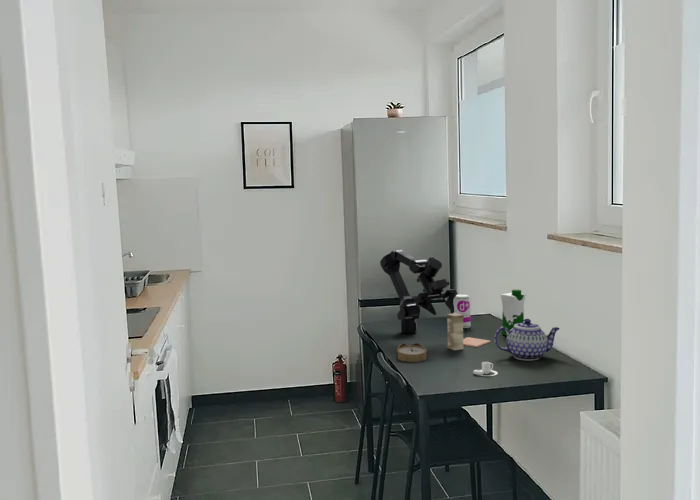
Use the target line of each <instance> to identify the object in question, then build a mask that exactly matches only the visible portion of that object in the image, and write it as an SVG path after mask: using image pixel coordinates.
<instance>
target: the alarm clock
mask: <svg viewBox="0 0 700 500" xmlns="http://www.w3.org/2000/svg"><path fill="white" fill-rule="evenodd" d="M396 351H397V359H398V360H399V361H403V362H408V363H410V362H411V363H417V362H423V361H425V360H426V359H427V348H425V347H424V346H423V345H422V344H420V343H418V342H417V343H415V342H414V344H406V343H400V344H399V345H398V346H397V349H396Z"/></svg>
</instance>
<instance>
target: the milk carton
mask: <svg viewBox="0 0 700 500" xmlns="http://www.w3.org/2000/svg"><path fill="white" fill-rule="evenodd" d="M500 299H501V305H502V306H501V307H502V309H501V310H502V313H501V314H502V321H501V322H502V324H501V327H506V328H507V329H508V330H509V331H510V330H511V329H512V328H513V327H514V325H515V324H518V323H525V322H524V319H525V313H524V312H525V309H524V308H525V306H524V305H525V300H526V294H523V293H522V290H521V289H511V292H509V293H508V292H507V293H501V294H500ZM501 335H503V336H507V333H506V331H505V330H504V329H503V330H501Z"/></svg>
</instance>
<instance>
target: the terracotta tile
mask: <svg viewBox="0 0 700 500" xmlns="http://www.w3.org/2000/svg"><path fill="white" fill-rule="evenodd" d="M489 343H491V340H489V339H482V338H475V337H469V336H467V337H465V338H464V337H463V346H466V347H472V348H479V347H481V346H483V345H487V344H489Z"/></svg>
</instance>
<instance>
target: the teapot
mask: <svg viewBox="0 0 700 500" xmlns="http://www.w3.org/2000/svg"><path fill="white" fill-rule="evenodd" d="M503 329H504V330H505V331H506V333H507V335H506V347H502V346H501V345H499V343H498V336H499V333H500V332H502V330H503ZM560 329H561V328H559V327H557V326H553V327H551V329H550V332H548V334H546V333H545V331H544V330H542V328H541V325H540V324H537V323H533V322H532V320H531V319H530V318H524V323H518V324H515V325H514V327H513V328H512V329H511V330H510V331H509V330H508V329H507V328H506V327H502V326H499V328H497V330H496V332H495V333H494V337H493V341H494V344H495V346H496V347H497V348H498V349H499V350H501V351H504V352H507V353H509V354H511V355H512V357H513V358H514V359H515V360H516V359H517V360H520V361H537V360H539V359H540V358H541V357H542V356H544V355H545V354H546V353H547V352H550V351H551V350H552V348H553V346H554V343H555V336H556V334H557V331H559V330H560Z"/></svg>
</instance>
